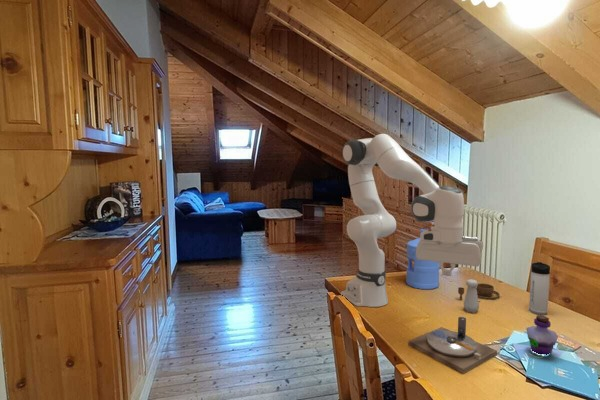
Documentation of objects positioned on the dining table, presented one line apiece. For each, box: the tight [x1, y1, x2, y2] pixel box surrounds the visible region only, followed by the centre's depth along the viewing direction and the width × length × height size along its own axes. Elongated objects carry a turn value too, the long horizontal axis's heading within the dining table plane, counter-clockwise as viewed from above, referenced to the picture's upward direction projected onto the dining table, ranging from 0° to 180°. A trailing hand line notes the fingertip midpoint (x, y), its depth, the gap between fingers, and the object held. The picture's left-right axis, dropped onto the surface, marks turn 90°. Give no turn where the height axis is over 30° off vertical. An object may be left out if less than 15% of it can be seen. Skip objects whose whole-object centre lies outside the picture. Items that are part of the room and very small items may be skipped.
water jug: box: [405, 228, 441, 290], centre depth 178 cm, size 16×16×28 cm
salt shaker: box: [463, 278, 480, 314], centre depth 146 cm, size 6×6×13 cm
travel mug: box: [528, 261, 551, 316], centre depth 144 cm, size 6×7×20 cm
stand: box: [408, 326, 498, 375], centre depth 117 cm, size 20×18×3 cm
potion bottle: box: [525, 314, 559, 355], centre depth 114 cm, size 9×9×12 cm
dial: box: [427, 316, 477, 357], centre depth 116 cm, size 15×15×7 cm
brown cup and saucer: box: [457, 283, 501, 303], centre depth 164 cm, size 18×20×6 cm
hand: (446, 275), depth 121 cm, fingers closed
